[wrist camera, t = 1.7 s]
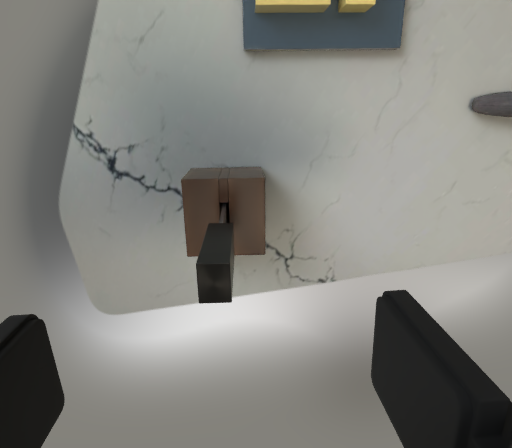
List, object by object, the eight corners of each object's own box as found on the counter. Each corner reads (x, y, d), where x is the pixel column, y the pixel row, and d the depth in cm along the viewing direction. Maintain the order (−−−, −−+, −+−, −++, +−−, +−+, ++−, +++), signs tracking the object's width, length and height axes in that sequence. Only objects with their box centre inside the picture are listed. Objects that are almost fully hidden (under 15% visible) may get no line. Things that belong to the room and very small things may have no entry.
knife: (236, 212, 36) (231, 302, 19) (219, 212, 36) (198, 303, 19) (236, 189, 35) (230, 262, 18) (218, 190, 35) (195, 263, 18)
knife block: (195, 234, 37) (187, 257, 31) (191, 168, 35) (180, 179, 29) (261, 232, 37) (265, 254, 31) (261, 166, 35) (265, 177, 29)
